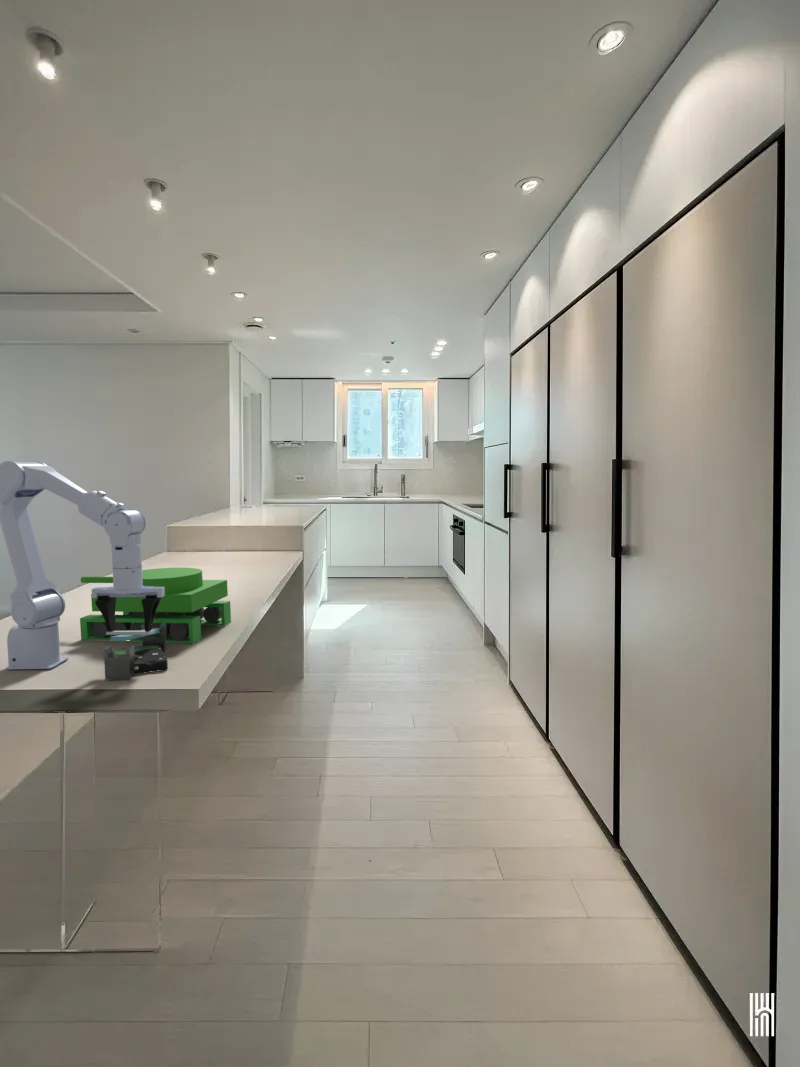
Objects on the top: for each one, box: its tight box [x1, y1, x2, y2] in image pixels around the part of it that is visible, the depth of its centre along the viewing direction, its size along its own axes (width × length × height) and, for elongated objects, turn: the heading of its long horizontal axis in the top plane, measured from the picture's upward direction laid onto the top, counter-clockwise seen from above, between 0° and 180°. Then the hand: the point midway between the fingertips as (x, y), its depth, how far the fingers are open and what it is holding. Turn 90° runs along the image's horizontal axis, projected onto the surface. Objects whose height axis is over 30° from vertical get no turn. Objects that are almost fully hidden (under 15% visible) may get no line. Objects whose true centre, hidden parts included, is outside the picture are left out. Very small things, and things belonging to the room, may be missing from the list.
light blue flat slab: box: [106, 628, 161, 642], centre depth 144 cm, size 9×21×2 cm, turn 1°
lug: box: [103, 645, 136, 681], centre depth 135 cm, size 5×2×6 cm, turn 91°
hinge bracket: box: [141, 623, 168, 653], centre depth 154 cm, size 5×2×7 cm, turn 91°
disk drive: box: [113, 644, 169, 675], centre depth 145 cm, size 10×3×15 cm
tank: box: [79, 567, 232, 644], centre depth 175 cm, size 24×35×16 cm
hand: (130, 630), depth 140 cm, fingers open, 7 cm apart
